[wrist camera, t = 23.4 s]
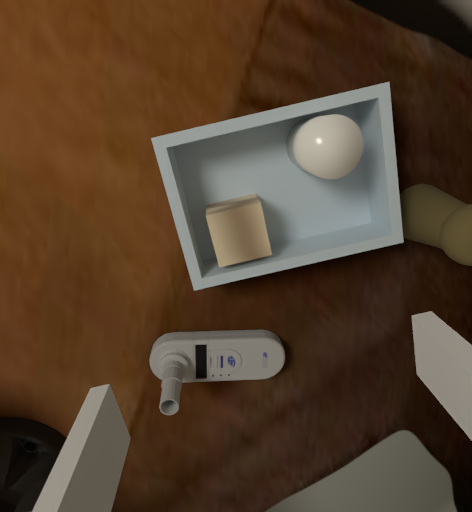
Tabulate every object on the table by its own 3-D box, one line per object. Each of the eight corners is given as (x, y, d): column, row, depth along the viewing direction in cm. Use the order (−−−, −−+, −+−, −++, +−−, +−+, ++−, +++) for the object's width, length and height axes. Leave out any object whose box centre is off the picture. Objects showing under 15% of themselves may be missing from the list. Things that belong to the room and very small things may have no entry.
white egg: (290, 175, 38) (307, 185, 32) (281, 123, 37) (296, 122, 30) (340, 164, 38) (366, 171, 32) (333, 111, 37) (359, 107, 30)
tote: (196, 269, 42) (194, 290, 36) (160, 137, 37) (151, 138, 32) (379, 227, 41) (403, 242, 36) (364, 88, 37) (389, 81, 32)
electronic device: (299, 424, 37) (141, 432, 36) (279, 366, 47) (153, 370, 45) (303, 376, 36) (137, 383, 34) (282, 326, 45) (151, 330, 44)
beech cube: (218, 251, 41) (219, 267, 36) (206, 205, 39) (205, 215, 34) (265, 240, 40) (272, 254, 36) (255, 193, 39) (260, 202, 34)
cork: (418, 250, 42) (485, 290, 32) (378, 218, 41) (435, 249, 31) (458, 206, 41) (541, 232, 31) (418, 171, 40) (491, 187, 29)
